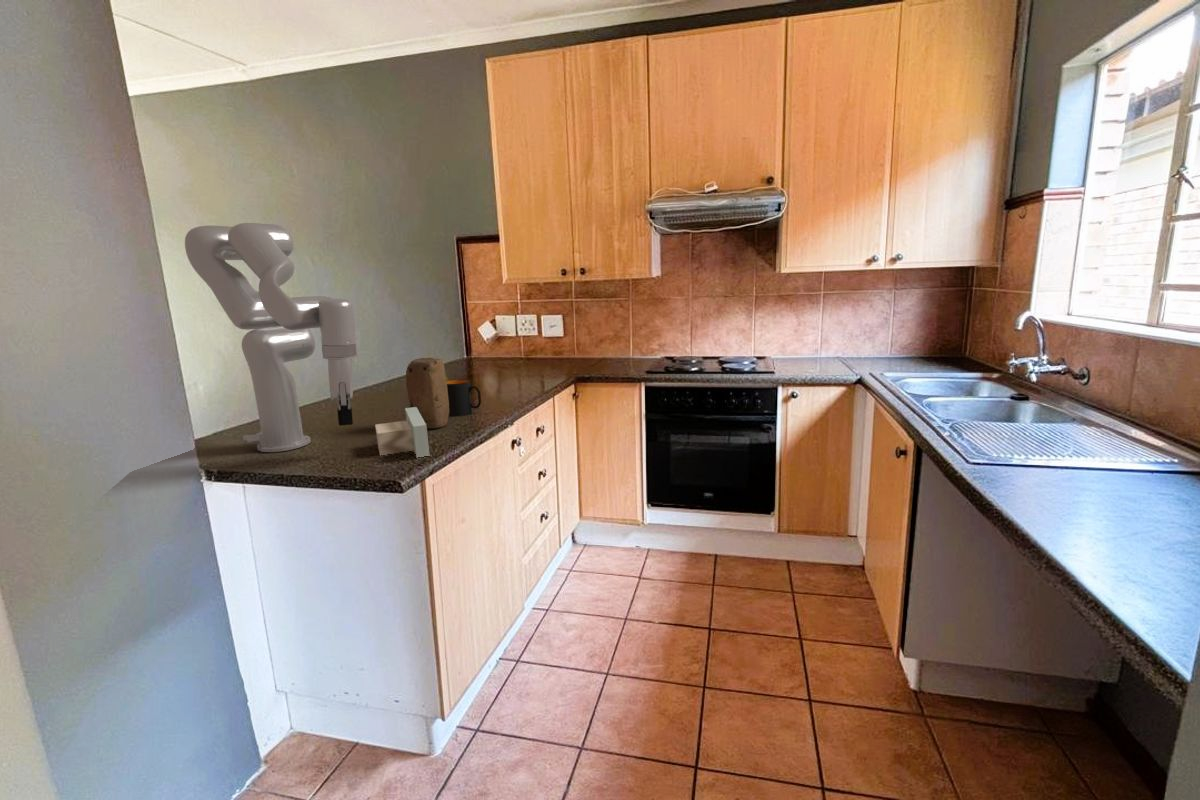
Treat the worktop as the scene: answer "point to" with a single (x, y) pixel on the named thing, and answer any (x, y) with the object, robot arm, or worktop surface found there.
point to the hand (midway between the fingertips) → (345, 424)
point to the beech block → (394, 437)
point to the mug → (461, 397)
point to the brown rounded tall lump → (428, 390)
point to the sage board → (418, 432)
